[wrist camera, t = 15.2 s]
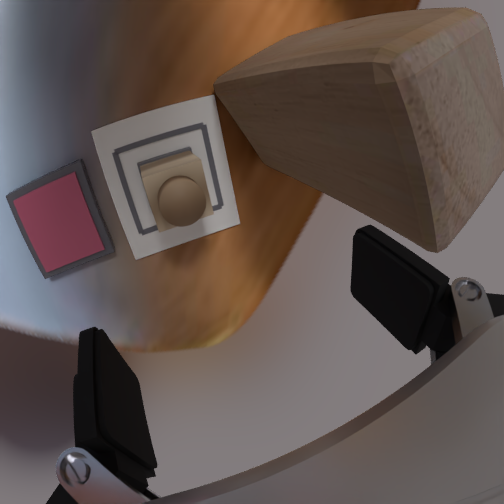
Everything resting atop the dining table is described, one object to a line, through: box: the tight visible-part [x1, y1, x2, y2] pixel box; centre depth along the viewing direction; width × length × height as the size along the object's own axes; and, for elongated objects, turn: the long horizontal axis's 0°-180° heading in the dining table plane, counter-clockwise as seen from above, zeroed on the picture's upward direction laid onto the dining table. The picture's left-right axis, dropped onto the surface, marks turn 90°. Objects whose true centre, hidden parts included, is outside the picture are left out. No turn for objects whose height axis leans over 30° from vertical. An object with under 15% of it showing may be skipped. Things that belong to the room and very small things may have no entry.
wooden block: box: [213, 8, 504, 253], centre depth 18 cm, size 10×10×20 cm
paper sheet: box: [91, 95, 240, 260], centre depth 26 cm, size 13×11×1 cm
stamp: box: [137, 146, 214, 233], centre depth 23 cm, size 5×5×7 cm
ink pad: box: [6, 159, 115, 279], centre depth 23 cm, size 9×8×1 cm
